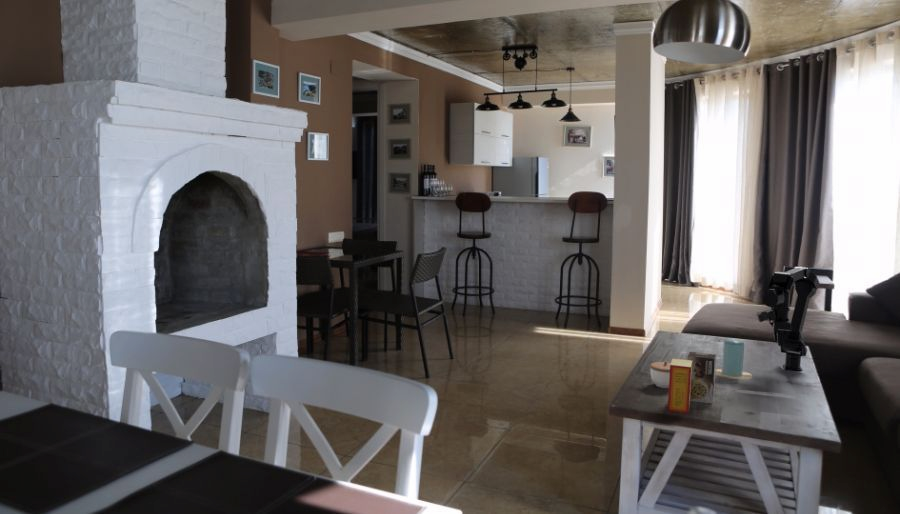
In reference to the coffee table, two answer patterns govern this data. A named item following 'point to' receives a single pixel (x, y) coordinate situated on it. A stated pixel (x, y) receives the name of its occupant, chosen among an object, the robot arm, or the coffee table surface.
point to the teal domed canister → (733, 357)
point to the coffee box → (702, 377)
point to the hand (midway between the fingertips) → (778, 343)
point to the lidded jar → (660, 373)
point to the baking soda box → (680, 385)
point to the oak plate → (744, 376)
